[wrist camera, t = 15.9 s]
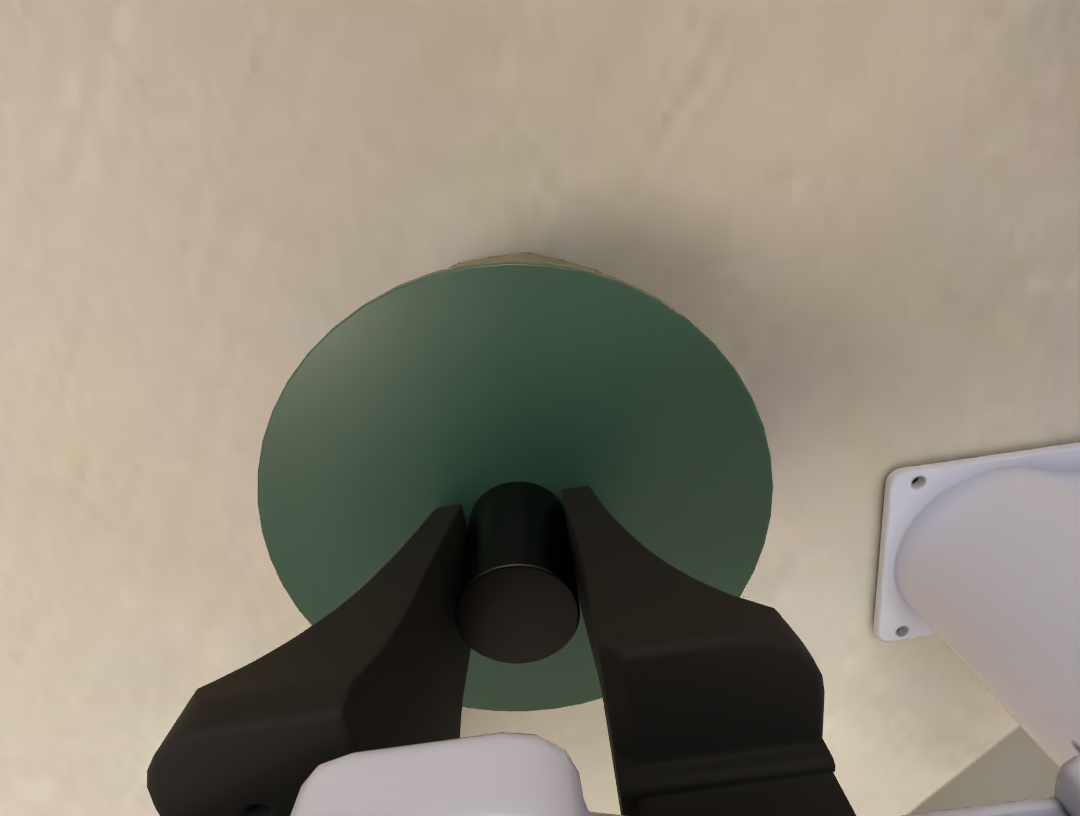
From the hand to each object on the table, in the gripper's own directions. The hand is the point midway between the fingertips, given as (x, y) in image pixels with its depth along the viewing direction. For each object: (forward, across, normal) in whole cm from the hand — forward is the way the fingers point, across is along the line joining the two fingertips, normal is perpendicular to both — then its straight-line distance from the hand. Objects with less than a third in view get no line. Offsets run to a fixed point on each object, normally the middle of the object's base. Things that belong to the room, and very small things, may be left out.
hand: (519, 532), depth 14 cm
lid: (+1, 0, 0) cm, 1 cm away
